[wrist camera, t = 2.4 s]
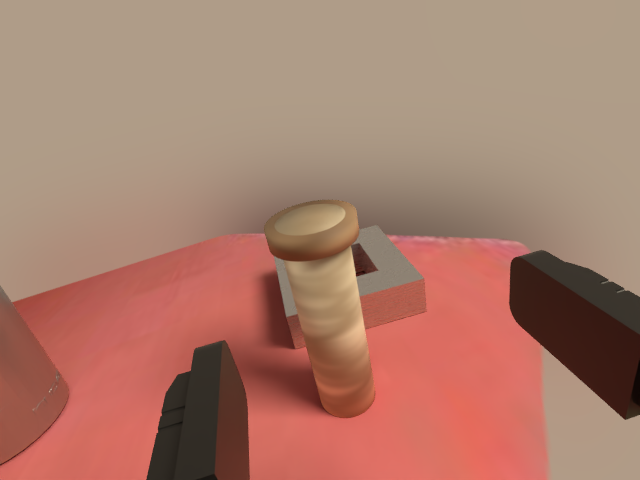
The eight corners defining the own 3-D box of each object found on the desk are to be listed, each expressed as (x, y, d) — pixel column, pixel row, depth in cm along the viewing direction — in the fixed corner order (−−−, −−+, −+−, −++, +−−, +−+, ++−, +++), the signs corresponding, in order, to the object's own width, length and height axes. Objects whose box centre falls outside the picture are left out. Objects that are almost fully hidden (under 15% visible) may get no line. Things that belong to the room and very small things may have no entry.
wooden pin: (320, 435, 25) (267, 250, 18) (306, 377, 29) (261, 213, 23) (395, 412, 25) (369, 224, 19) (370, 358, 30) (342, 193, 23)
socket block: (295, 349, 32) (286, 317, 31) (280, 278, 43) (273, 252, 41) (426, 311, 33) (424, 278, 32) (380, 251, 44) (376, 225, 42)
